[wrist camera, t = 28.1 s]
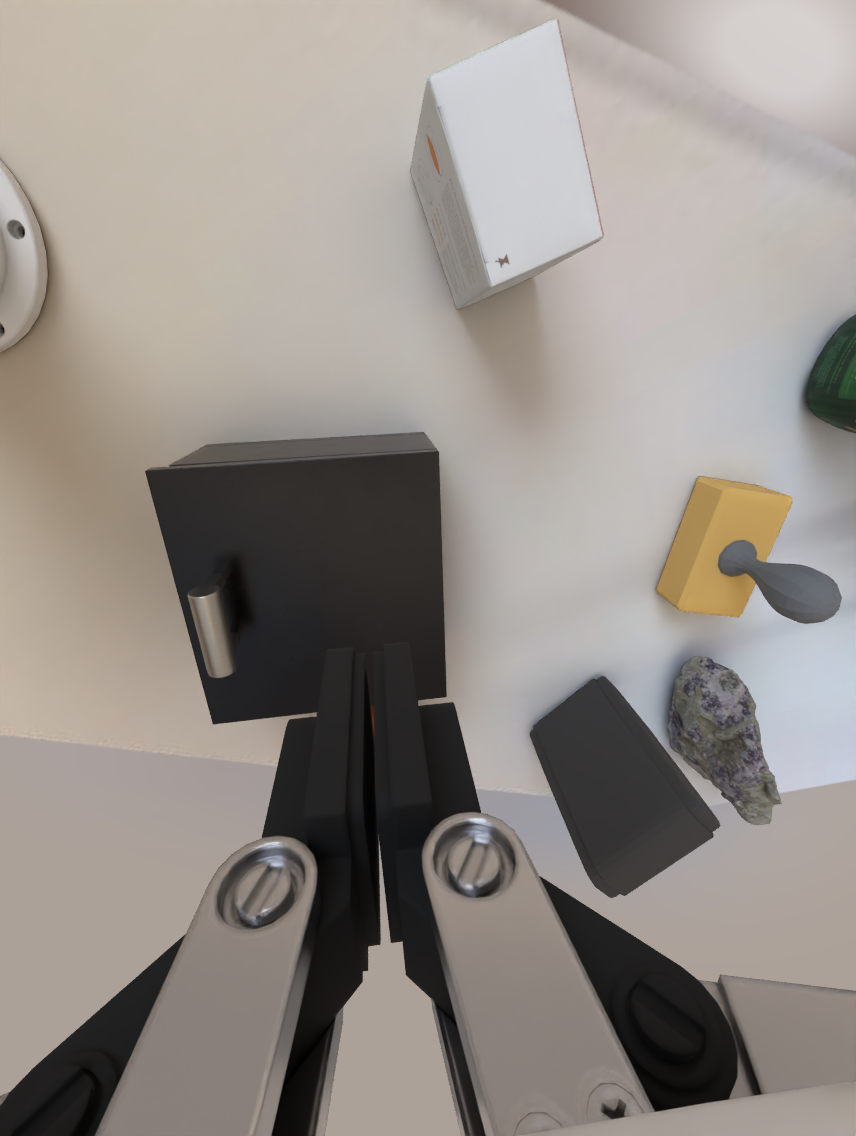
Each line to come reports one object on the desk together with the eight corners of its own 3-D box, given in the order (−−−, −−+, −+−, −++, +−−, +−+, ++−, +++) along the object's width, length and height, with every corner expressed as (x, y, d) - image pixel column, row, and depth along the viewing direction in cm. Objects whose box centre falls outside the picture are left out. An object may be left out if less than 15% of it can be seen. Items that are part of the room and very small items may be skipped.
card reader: (546, 751, 48) (618, 910, 34) (520, 729, 46) (585, 886, 33) (623, 692, 46) (732, 836, 32) (598, 667, 44) (701, 807, 31)
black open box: (251, 655, 40) (229, 711, 34) (206, 444, 33) (168, 465, 27) (433, 638, 41) (445, 689, 35) (424, 431, 35) (436, 448, 28)
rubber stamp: (713, 598, 43) (832, 681, 32) (652, 591, 42) (753, 674, 31) (761, 485, 39) (913, 536, 28) (695, 475, 38) (827, 523, 27)
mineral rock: (679, 640, 44) (761, 714, 35) (781, 654, 46) (884, 727, 37) (629, 752, 49) (689, 844, 40) (723, 760, 51) (802, 850, 42)
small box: (536, 276, 32) (608, 242, 22) (454, 312, 32) (491, 293, 22) (497, 126, 28) (562, 8, 19) (406, 167, 29) (425, 72, 19)
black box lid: (215, 716, 33) (196, 766, 29) (150, 467, 27) (113, 487, 23) (444, 690, 35) (456, 733, 31) (436, 449, 28) (450, 464, 24)
